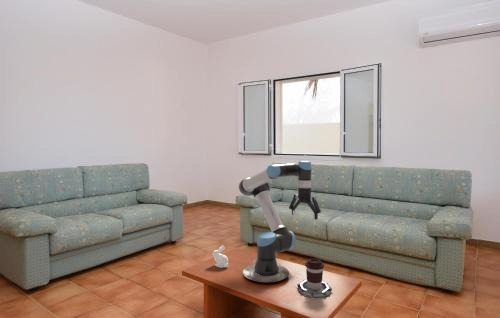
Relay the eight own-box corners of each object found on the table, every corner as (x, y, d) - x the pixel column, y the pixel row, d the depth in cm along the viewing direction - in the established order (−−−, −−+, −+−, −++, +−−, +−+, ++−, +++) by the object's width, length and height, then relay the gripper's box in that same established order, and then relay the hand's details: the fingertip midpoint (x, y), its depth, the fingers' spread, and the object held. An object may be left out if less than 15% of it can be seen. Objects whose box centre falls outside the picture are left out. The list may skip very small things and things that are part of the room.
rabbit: (210, 265, 210) (210, 247, 209) (221, 261, 217) (221, 243, 216) (223, 270, 202) (223, 251, 201) (234, 265, 209) (234, 247, 208)
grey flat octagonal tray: (291, 290, 174) (291, 286, 174) (308, 279, 188) (308, 276, 187) (321, 301, 162) (321, 297, 162) (336, 288, 176) (337, 284, 176)
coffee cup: (323, 292, 169) (324, 264, 168) (304, 290, 171) (305, 263, 170) (323, 284, 179) (323, 258, 178) (305, 282, 181) (305, 256, 180)
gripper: (283, 186, 194) (283, 220, 195) (320, 190, 178) (320, 227, 179) (290, 184, 199) (290, 218, 201) (327, 188, 183) (326, 225, 185)
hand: (304, 222), depth 190 cm, fingers open, 13 cm apart
